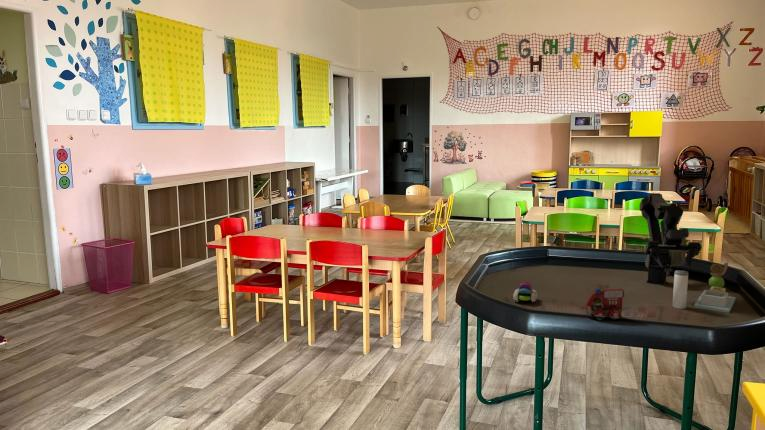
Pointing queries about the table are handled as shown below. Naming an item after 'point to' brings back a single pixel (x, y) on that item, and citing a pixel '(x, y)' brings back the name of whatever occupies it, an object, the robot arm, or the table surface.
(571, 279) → the table surface
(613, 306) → the toy fire truck
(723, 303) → the fitting board
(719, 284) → the snail figurine
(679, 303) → the white cylinder
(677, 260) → the tabletop clock
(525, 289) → the multicoloured small toy
